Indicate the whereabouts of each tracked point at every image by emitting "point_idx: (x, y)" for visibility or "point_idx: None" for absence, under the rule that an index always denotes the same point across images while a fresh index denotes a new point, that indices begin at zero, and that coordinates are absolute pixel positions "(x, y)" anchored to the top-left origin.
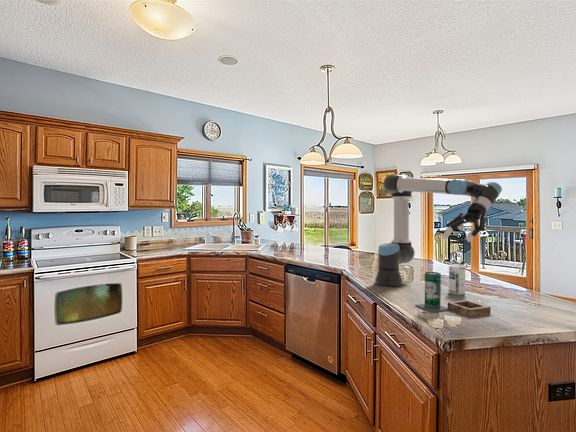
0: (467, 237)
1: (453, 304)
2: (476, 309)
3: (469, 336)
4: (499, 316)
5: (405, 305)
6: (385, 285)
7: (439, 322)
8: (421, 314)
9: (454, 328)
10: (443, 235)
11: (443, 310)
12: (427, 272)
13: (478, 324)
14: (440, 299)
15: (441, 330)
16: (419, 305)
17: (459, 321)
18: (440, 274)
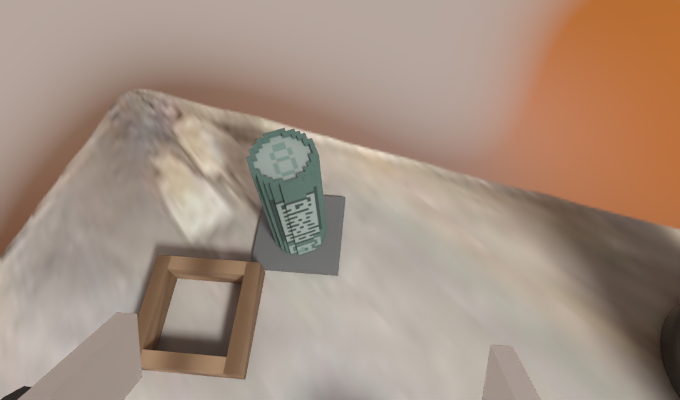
0: (107, 321)
1: (232, 260)
2: (148, 285)
3: (100, 137)
4: None
5: (366, 178)
6: (676, 307)
7: (199, 150)
8: None
9: (149, 148)
10: (495, 350)
11: (256, 238)
12: (312, 154)
13: (120, 228)
14: (272, 232)
15: (163, 114)
16: (332, 203)
17: (169, 202)
18: (251, 173)
